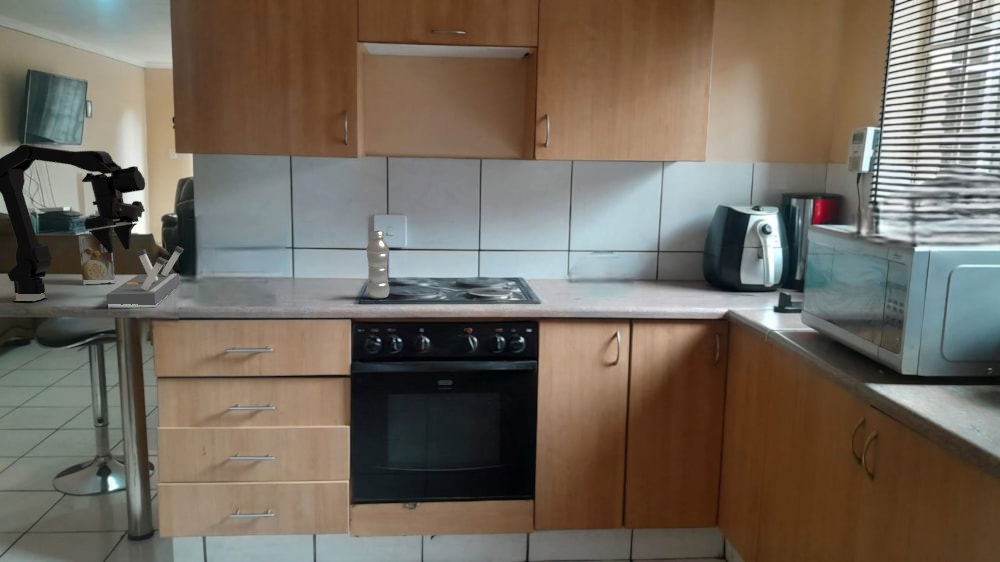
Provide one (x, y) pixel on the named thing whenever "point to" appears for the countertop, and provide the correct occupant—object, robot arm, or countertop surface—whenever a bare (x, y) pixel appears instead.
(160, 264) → the lever
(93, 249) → the coffee box
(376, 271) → the plastic bottle
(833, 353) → the countertop surface
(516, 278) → the countertop surface
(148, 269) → the lever
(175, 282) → the breaker panel
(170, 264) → the lever
